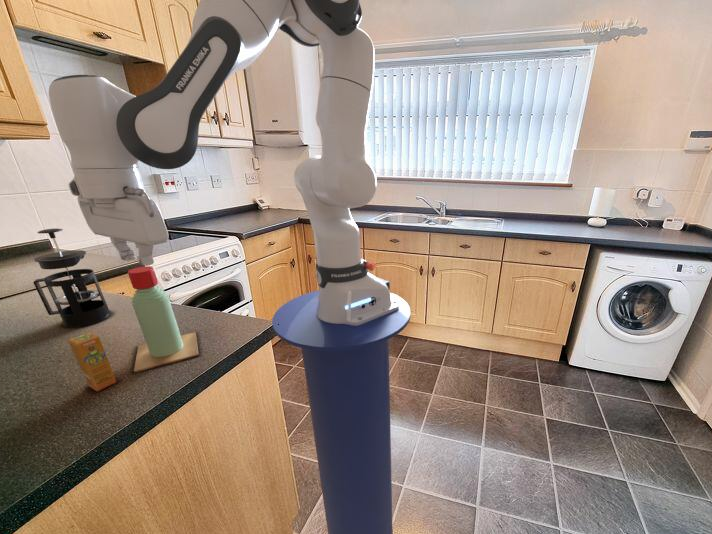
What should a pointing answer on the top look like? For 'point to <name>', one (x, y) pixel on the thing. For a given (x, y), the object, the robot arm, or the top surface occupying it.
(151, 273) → the red cap
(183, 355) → the cork coaster
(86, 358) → the supplement box
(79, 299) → the french press
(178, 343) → the sauce bottle
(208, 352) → the top surface
